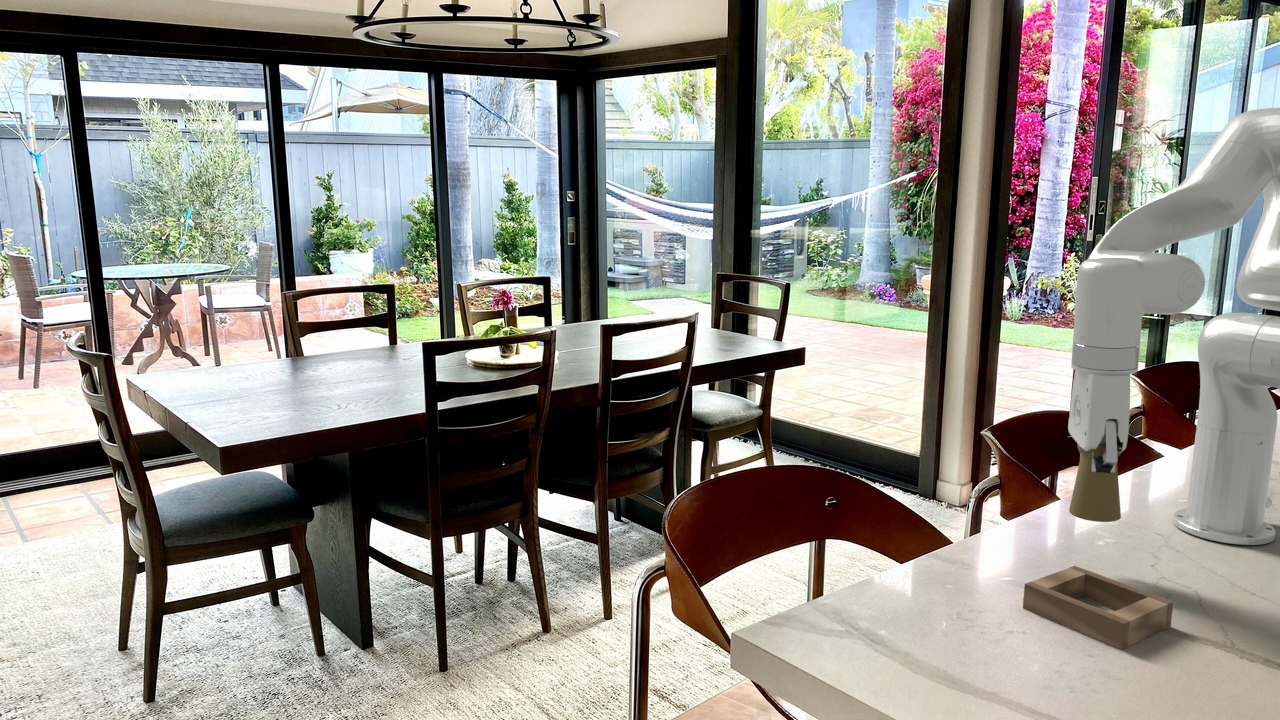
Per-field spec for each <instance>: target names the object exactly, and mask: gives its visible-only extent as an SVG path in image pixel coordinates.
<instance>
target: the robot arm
mask: <svg viewBox="0 0 1280 720" xmlns="http://www.w3.org/2000/svg"><path fill="white" fill-rule="evenodd" d="M1261 194H1262V195H1263V209H1262V213H1261V217H1260V218H1259V219H1260V220H1259V222H1258V224H1257V228H1256V230H1255V232H1254V234H1253V237H1252V239H1251V242H1250V244H1249V247H1248V249H1247V252H1246V254H1245V257H1244V260H1243V262H1242V264H1241V267H1240V270H1239V272H1238V276H1237V279H1236V294H1237V296H1238V297H1239V300H1241V301H1242V302H1244V303H1245V304H1246V305H1250V306H1251V307H1256V308H1259V309H1264V310H1270V311H1271V310H1272V311H1278V312H1280V107H1272V108H1271V107H1267V108H1258V109H1251V110H1248V111H1245V112H1241V113H1239V114H1238V115H1236V116H1234V117H1233V118H1232V119H1231V120H1230V121H1228V123H1226V125H1225V126H1224V128H1222V130H1221V131H1220V132H1219V133H1218V135H1217V136H1216V138H1215V139H1214V140H1213V142H1212V143H1211V144H1210V145H1209V146H1208V148H1207V149H1206V151H1205V152H1204V153H1203V155H1202V156H1201V157H1200V158H1199V160H1198V161H1197V162H1196V164H1195V165H1194V167H1192V169H1191V170H1190V171H1189V173H1188V174H1187V175H1186V177H1185V178H1184V180H1183V181H1182V182H1181V183H1179V185H1178V186H1176V187H1174V188H1172V189H1170V190H1168V191H1166V192H1164V193H1162V194H1160V195H1158V196H1156V197H1154V198H1153V199H1151V200H1149V201H1147V202H1146V203H1143V204H1142V205H1141V206H1139V207H1137V208H1135V209H1133V210H1132V211H1130V212H1128V213H1127V214H1126V215H1124V216H1122V217H1121V218H1120V219H1119V220H1117V221H1116V222H1115V223H1114V224H1113V225H1112V226H1111V227H1110V228H1109V229H1108V230H1107V231H1106V233H1105V234H1104V235H1103V236H1102V238H1101V239H1100V240H1099V241H1098V243H1097V244H1096V245H1095V246H1094V248H1093V250H1092V252H1091V253H1090V254H1089V256H1088V257H1087V259H1085V260H1084V261H1083V262H1081V263H1080V265H1079V266H1078V270H1077V276H1076V289H1075V290H1076V291H1075V292H1076V293H1075V305H1074V320H1073V321H1074V323H1073V335H1072V336H1073V338H1072V339H1073V340H1072V349H1071V352H1072V353H1071V364H1070V365H1071V366H1070V367H1071V368H1072V370H1074V376H1073V383H1072V389H1071V391H1072V392H1071V397H1070V398H1071V399H1070V406H1069V407H1070V408H1069V414H1068V415H1069V416H1068V424H1067V429H1068V433H1069V435H1070V436H1071V438H1073V440H1074V441H1075V442H1076V443H1078V444H1079V445H1080V447H1081V448H1082V449H1084V450H1085V451H1090V449H1096V448H1097V447H1098V445H1099V444H1102V443H1103V445H1104V454H1103V455H1102V456H1098V458H1097V457H1096V456H1095V455H1094V453H1092V457H1091V473H1095V472H1105V473H1110V474H1114V473H1115V464H1117V465H1118V458H1119V457H1117V451H1118V452H1121V453H1122V452H1123V451H1125V450H1126V449H1127V444H1128V438H1129V428H1130V427H1129V426H1130V412H1131V411H1130V408H1131V407H1130V406H1131V375H1133V374H1136V373H1138V371H1139V362H1140V352H1141V351H1140V347H1141V334H1142V323H1143V316H1144V315H1146V314H1147V315H1149V314H1152V315H1166V316H1168V315H1176V314H1181V313H1184V312H1186V311H1187V310H1189V309H1191V308H1192V307H1194V306H1195V305H1196V304H1197V303H1198V302H1199V300H1200V299H1201V298H1202V296H1203V294H1204V292H1205V286H1206V277H1205V274H1204V271H1203V269H1202V267H1200V265H1199V264H1198V263H1197V262H1196V261H1194V260H1193V259H1191V258H1190V257H1187V256H1183V255H1180V254H1173V253H1162V252H1161V253H1160V252H1158V253H1157V252H1156V251H1157V250H1160V249H1162V248H1164V247H1167V246H1169V245H1173V244H1175V243H1179V242H1182V241H1183V242H1184V241H1186V240H1187V241H1188V240H1190V239H1195V238H1199V237H1200V238H1201V237H1204V236H1207V235H1210V234H1215V233H1217V232H1220V231H1223V230H1225V229H1229V228H1230V227H1233V226H1234V225H1237V224H1238V223H1239V222H1240V221H1241V220H1242V219H1244V217H1245V215H1247V213H1248V211H1249V210H1250V209H1251V208H1252V206H1253V205H1254V203H1255V202H1256V201H1257V199H1258V198H1259V197H1260V195H1261ZM1197 356H1198V365H1199V366H1198V367H1199V379H1200V380H1199V382H1200V383H1199V385H1200V388H1199V402H1198V403H1199V404H1198V413H1197V421H1196V426H1195V427H1196V428H1195V438H1194V444H1193V445H1194V446H1193V453H1192V461H1191V471H1190V478H1189V479H1190V480H1189V485H1188V486H1189V487H1188V488H1189V489H1188V495H1187V501H1186V503H1187V504H1186V508H1183V509H1179V510H1176V511H1175V512H1174V513H1173V518H1172V522H1173V524H1174V525H1175V526H1176V527H1177V528H1178V529H1180V530H1181V531H1183V532H1186V533H1188V534H1190V535H1193V536H1196V537H1199V538H1201V539H1206V540H1208V541H1214V542H1216V543H1217V542H1218V543H1224V544H1230V545H1240V546H1259V545H1266V544H1269V543H1271V542H1273V541H1275V539H1276V529H1275V528H1274V527H1273V526H1272V525H1271V524H1269V523H1268V522H1265V521H1264V520H1265V516H1266V510H1267V509H1270V508H1271V507H1272V505H1273V502H1272V499H1271V498H1270V497H1269V496H1268V491H1269V485H1270V478H1271V477H1270V476H1271V470H1272V469H1271V468H1272V464H1273V463H1272V462H1273V456H1274V449H1275V448H1274V447H1275V440H1276V433H1277V427H1278V412H1277V411H1278V410H1277V406H1276V404H1275V401H1274V399H1273V397H1272V395H1271V393H1270V390H1269V389H1268V387H1271V388H1276V389H1280V316H1276V315H1268V314H1260V313H1252V312H1251V313H1250V312H1228V313H1221V314H1220V315H1217V316H1214V317H1213V318H1211V319H1210V320H1208V321H1207V322H1206V324H1205V325H1203V327H1202V329H1201V330H1200V334H1199V336H1198V340H1197ZM1117 437H1119V440H1120V443H1121V445H1120V444H1118V445H1117ZM1117 447H1118V448H1119V449H1117ZM1079 454H1080V453H1079ZM1079 456H1080V457H1079V459H1080V458H1081V454H1080V455H1079Z"/></svg>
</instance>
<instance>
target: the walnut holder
mask: <svg viewBox="0 0 1280 720" xmlns="http://www.w3.org/2000/svg"><path fill="white" fill-rule="evenodd" d="M1023 589H1024V591H1023V601H1022V608H1023V609H1025V610H1027V611H1029V612H1032V613H1034V614H1036V615H1039V616H1041V617H1044V618H1045V619H1047V620H1050V621H1053V622H1056V623H1058V624H1060V625H1063V627H1064V626H1065V627H1067V628H1069V629H1072V630H1074V631H1077V632H1078V633H1081V634H1083V635H1085V636H1088V637H1090V638H1092V639H1096V640H1097V641H1100V642H1102V643H1104V644H1107V645H1109V646H1111V647H1114V648H1116V649H1118V650H1123V649H1126V648H1128V647H1129V646H1132V645H1134V644H1136V643H1138V642H1141V641H1143V640H1144V639H1145V640H1146V639H1147V638H1149V637H1151V636H1154V635H1155V634H1159V632H1162V631H1164V630H1165V629H1168V628H1170V627H1171V626H1172V618H1173V617H1172V616H1173V611H1174V610H1173V609H1174V600H1169V599H1167V598H1165V597H1162V596H1160V595H1159V596H1158V595H1156V594H1153V593H1150V592H1148V591H1145V590H1142V589H1140V588H1137V587H1135V586H1132V585H1129V584H1126V583H1124V582H1121V581H1119V580H1115V579H1112V578H1109V577H1108V576H1104V575H1102V574H1100V573H1096V572H1094V571H1090V570H1088V569H1086V568H1083V567H1080V566H1078V565H1077V566H1076V565H1073V566H1070V567H1068V568H1064V569H1062V570H1061V569H1060V570H1059V571H1057V572H1053V573H1051V574H1048V575H1045V576H1043V577H1039V578H1037V579H1034V580H1032V581H1029V582H1026V583H1024V588H1023ZM1083 598H1085V599H1087V600H1090V601H1092V602H1094V603H1097V604H1099V605H1102V606H1105V607H1108V608H1110V609H1113V610H1114V611H1113V612H1108V611H1107V610H1104V609H1101V608H1098V607H1096V606H1094V605H1092V604H1089V603H1085V602H1083V601H1081V599H1083Z"/></svg>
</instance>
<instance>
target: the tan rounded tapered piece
mask: <svg viewBox="0 0 1280 720" xmlns="http://www.w3.org/2000/svg"><path fill="white" fill-rule="evenodd" d="M1076 443H1077V442H1076ZM1118 444H1120V445H1121V443H1120V440H1119V437H1117V445H1118ZM1076 446H1077V449H1078V452H1079V454H1081V458H1080V457H1079V463H1078V466H1077V467H1078V468H1077V472H1076V477H1075V482H1074V487H1073V491H1072V496H1071V500H1070V504H1069V508H1068V512H1069V513H1070V515H1072V516H1073V517H1075V518H1078V519H1082V520H1085V521H1091V522H1095V523H1096V522H1098V523H1099V522H1100V523H1111V522H1117V521H1119V520H1120V519H1121V518H1122V514H1121V511H1122V510H1121V501H1120V500H1121V499H1120V498H1121V497H1120V486H1119V485H1120V484H1119V483H1120V482H1119V472H1118V463H1117V464H1115V473H1114V474H1110V473H1105V472H1095V473H1091V457H1092V453H1094V455H1095V456H1096V457H1097V458H1098V456H1102V455H1103V454H1104V445H1103V443H1102V444H1099V445H1098V447H1097V448H1096V449H1090V451H1085V450H1084V449H1082V448H1081V447H1080V445H1079V444H1078V443H1077V445H1076ZM1117 449H1119V448H1118V447H1117ZM1121 455H1122V452H1118V451H1117V458H1119V456H1121Z"/></svg>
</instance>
